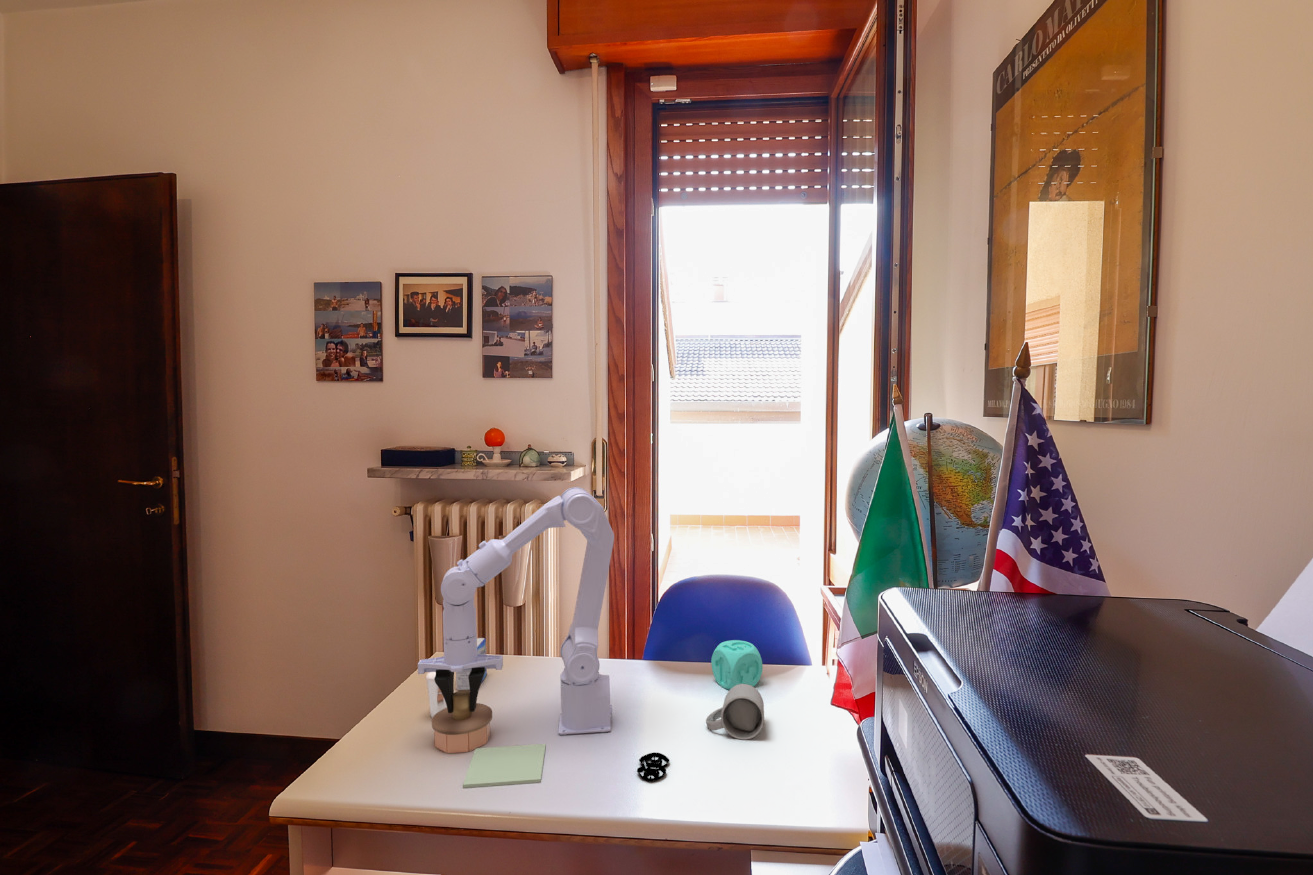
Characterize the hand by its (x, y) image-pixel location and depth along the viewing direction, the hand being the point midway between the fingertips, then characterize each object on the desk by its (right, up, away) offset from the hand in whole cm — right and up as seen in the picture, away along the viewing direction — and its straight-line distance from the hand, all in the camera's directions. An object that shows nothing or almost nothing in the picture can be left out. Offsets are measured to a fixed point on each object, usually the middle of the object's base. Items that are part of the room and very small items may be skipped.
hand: (462, 709), depth 115 cm
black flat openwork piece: (+34, -6, -10) cm, 36 cm away
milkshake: (-7, -5, +10) cm, 13 cm away
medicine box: (-5, -5, +25) cm, 26 cm away
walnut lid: (0, -2, 0) cm, 2 cm away
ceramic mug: (+49, -5, +2) cm, 50 cm away
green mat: (+10, -6, -9) cm, 14 cm away
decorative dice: (+52, -4, +22) cm, 57 cm away
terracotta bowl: (0, -5, 0) cm, 5 cm away
